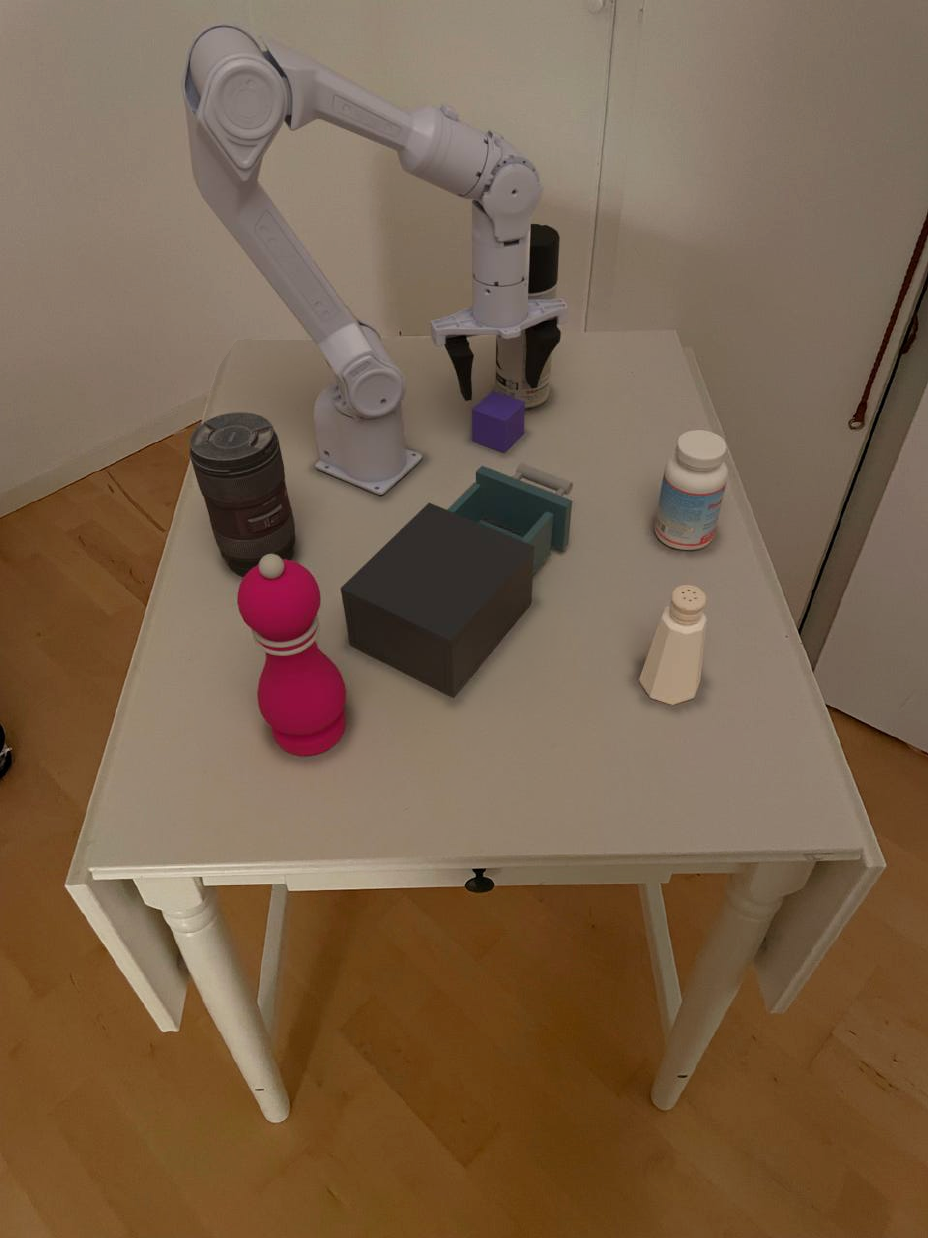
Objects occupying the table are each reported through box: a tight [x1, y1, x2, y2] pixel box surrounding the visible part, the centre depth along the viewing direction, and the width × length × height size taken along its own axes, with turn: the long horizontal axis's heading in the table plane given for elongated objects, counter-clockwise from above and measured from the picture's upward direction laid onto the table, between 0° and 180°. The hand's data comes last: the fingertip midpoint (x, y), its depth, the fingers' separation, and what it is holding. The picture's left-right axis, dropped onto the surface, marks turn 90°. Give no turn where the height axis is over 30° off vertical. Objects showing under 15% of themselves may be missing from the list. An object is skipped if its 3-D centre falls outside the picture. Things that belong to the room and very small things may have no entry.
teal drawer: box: [446, 462, 574, 575], centre depth 90 cm, size 17×10×6 cm, turn 147°
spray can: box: [494, 223, 561, 411], centre depth 105 cm, size 7×7×20 cm
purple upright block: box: [471, 390, 526, 454], centre depth 105 cm, size 4×4×4 cm
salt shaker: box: [638, 584, 708, 706], centre depth 77 cm, size 5×5×11 cm
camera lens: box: [189, 411, 296, 578], centre depth 88 cm, size 8×8×15 cm
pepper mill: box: [236, 554, 347, 757], centre depth 71 cm, size 7×7×20 cm
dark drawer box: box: [340, 502, 534, 699], centre depth 84 cm, size 14×12×8 cm
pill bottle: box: [654, 429, 729, 551], centre depth 91 cm, size 6×6×11 cm
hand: (498, 389), depth 102 cm, fingers open, 7 cm apart
